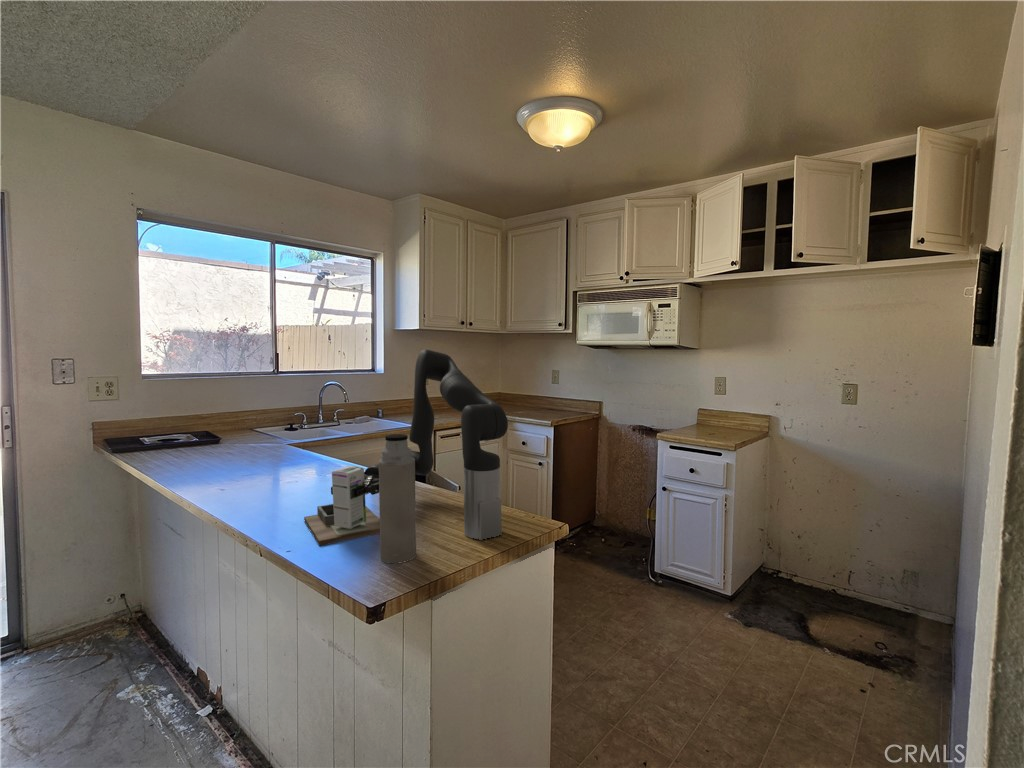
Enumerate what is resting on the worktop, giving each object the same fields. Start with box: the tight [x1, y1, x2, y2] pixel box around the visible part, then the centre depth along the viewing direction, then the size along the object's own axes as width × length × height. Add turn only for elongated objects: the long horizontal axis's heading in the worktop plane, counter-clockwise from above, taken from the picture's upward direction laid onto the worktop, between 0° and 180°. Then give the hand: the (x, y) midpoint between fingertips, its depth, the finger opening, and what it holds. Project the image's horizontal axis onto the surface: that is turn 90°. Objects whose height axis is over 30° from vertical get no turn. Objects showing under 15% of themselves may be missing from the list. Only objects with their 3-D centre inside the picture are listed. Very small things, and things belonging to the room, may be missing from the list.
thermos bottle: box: [378, 433, 417, 564], centre depth 111 cm, size 8×8×28 cm
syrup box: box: [331, 465, 367, 529], centre depth 126 cm, size 6×6×14 cm
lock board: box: [303, 503, 380, 546], centre depth 131 cm, size 20×17×4 cm
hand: (342, 492), depth 124 cm, fingers closed on syrup box, 6 cm apart
